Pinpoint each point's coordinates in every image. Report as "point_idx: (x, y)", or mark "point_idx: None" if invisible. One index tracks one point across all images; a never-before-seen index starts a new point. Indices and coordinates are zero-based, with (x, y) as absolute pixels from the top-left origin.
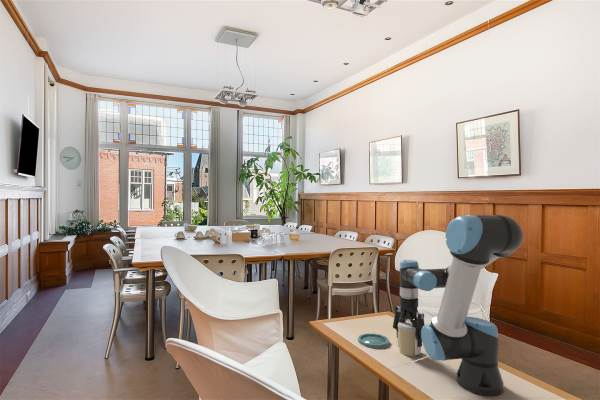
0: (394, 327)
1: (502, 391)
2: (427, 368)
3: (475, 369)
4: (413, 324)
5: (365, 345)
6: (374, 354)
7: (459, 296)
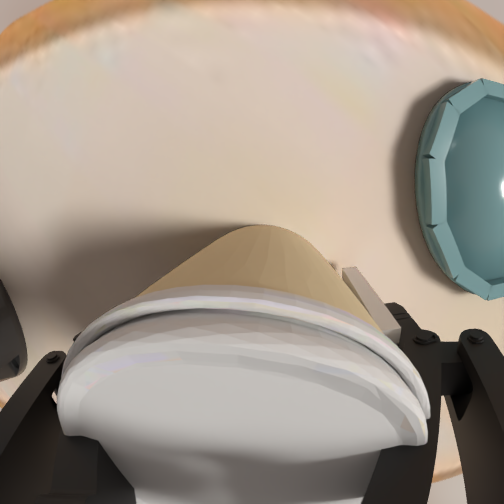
0: (466, 339)
1: None
2: (52, 218)
3: None
4: (70, 468)
5: (471, 82)
6: (349, 39)
7: None
